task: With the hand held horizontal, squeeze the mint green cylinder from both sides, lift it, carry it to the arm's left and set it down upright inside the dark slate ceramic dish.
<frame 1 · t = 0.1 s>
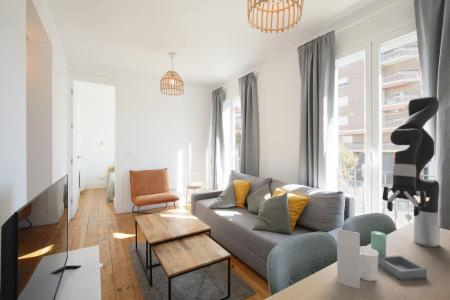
hand: (402, 213, 92), 22 cm above the table, tool pointing down, fingers open, 8 cm apart
milk carton: (348, 281, 82), on the table
dish: (400, 271, 88), on the table
mint green cylinder: (378, 257, 99), on the table
white cup: (366, 276, 85), on the table
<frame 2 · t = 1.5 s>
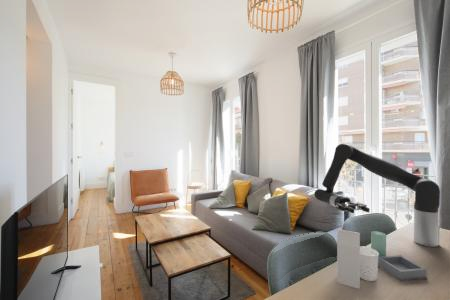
hand: (361, 210, 109), 18 cm above the table, tool horizontal, fingers open, 8 cm apart
nothing on the table moved.
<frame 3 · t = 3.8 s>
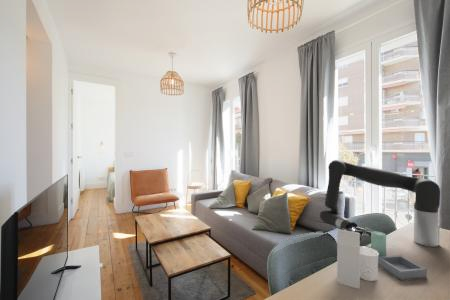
hand: (368, 238, 105), 7 cm above the table, tool horizontal, fingers open, 8 cm apart
nothing on the table moved.
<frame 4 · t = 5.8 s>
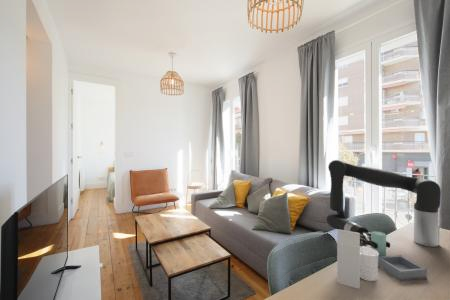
hand: (383, 245, 96), 7 cm above the table, tool horizontal, fingers closed on mint green cylinder, 5 cm apart
mint green cylinder: (378, 257, 99), on the table, touching gripper
everything else where it was.
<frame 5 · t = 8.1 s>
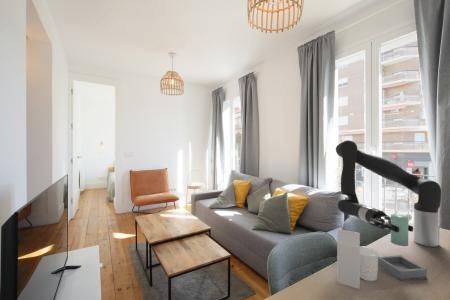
hand: (405, 229, 86), 18 cm above the table, tool horizontal, fingers closed on mint green cylinder, 5 cm apart
mint green cylinder: (399, 243, 88), point 11 cm above the table, touching gripper
everything else where it was.
when the fingers open (8 cm above the table, at t = 10.4 s): mint green cylinder drops 1 cm, resting on dish.
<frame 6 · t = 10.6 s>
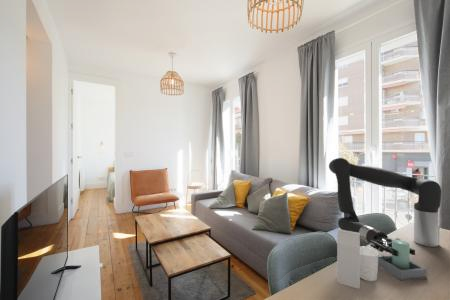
hand: (405, 253, 86), 8 cm above the table, tool horizontal, fingers open, 7 cm apart
mint green cylinder: (400, 269, 88), point 1 cm above the table, touching dish
everything else where it was.
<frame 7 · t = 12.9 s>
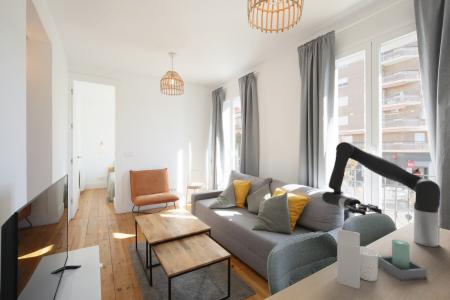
hand: (373, 212, 104), 19 cm above the table, tool horizontal, fingers open, 8 cm apart
nothing on the table moved.
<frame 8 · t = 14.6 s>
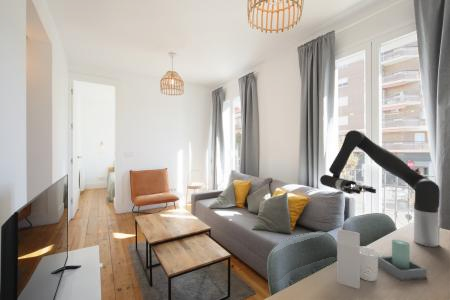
hand: (367, 191, 109), 28 cm above the table, tool horizontal, fingers open, 8 cm apart
nothing on the table moved.
at the end: mint green cylinder inside the target area on the dish (0.1 cm from its centre), point 0.8 cm above the dish's base; mint green cylinder tilted 0°; the gripper is holding nothing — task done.
